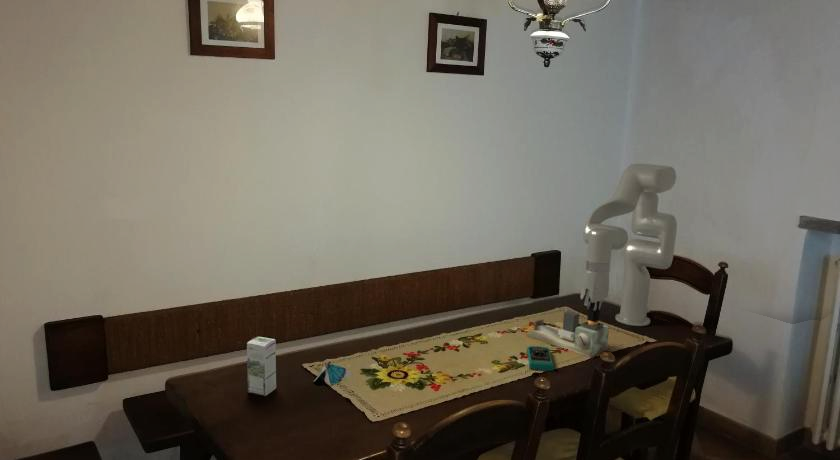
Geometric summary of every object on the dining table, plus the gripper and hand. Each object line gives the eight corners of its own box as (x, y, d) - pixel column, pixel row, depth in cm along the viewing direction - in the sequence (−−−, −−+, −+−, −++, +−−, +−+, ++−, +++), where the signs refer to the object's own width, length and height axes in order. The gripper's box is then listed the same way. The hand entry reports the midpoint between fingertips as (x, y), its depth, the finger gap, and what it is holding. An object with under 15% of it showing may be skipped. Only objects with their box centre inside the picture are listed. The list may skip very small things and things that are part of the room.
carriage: (569, 333, 227) (571, 309, 225) (581, 337, 224) (583, 313, 222) (557, 337, 222) (559, 313, 221) (570, 341, 219) (572, 317, 217)
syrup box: (276, 388, 180) (276, 338, 177) (265, 397, 175) (264, 345, 172) (259, 384, 182) (258, 335, 179) (246, 393, 176) (246, 342, 174)
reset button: (590, 324, 218) (591, 318, 218) (599, 326, 216) (599, 320, 216) (585, 326, 216) (586, 320, 216) (594, 328, 214) (594, 322, 213)
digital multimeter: (549, 354, 213) (549, 346, 213) (553, 372, 199) (554, 363, 198) (526, 353, 214) (526, 344, 214) (529, 371, 200) (529, 361, 199)
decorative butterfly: (303, 371, 183) (320, 351, 192) (306, 389, 186) (322, 369, 195) (336, 377, 180) (351, 356, 189) (338, 396, 183) (353, 374, 191)
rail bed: (546, 328, 237) (548, 304, 235) (608, 348, 219) (611, 322, 218) (526, 336, 229) (528, 310, 227) (589, 357, 211) (591, 330, 209)
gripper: (599, 261, 220) (594, 313, 223) (575, 267, 210) (570, 322, 213) (620, 265, 215) (614, 319, 218) (595, 272, 204) (590, 328, 208)
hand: (592, 320), depth 215 cm, fingers closed
